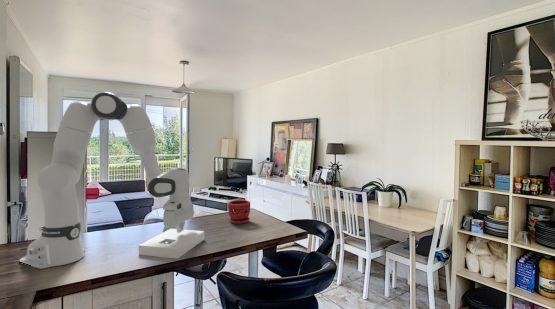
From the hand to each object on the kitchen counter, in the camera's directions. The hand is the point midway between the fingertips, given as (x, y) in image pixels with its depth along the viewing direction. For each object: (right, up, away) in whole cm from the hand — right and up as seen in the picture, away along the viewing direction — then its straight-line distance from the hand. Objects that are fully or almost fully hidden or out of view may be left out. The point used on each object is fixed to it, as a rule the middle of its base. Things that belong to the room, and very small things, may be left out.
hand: (180, 231), depth 137 cm
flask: (-12, -5, +20) cm, 23 cm away
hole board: (-1, -6, -4) cm, 7 cm away
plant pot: (+23, -4, +37) cm, 43 cm away
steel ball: (-2, -4, -10) cm, 11 cm away
